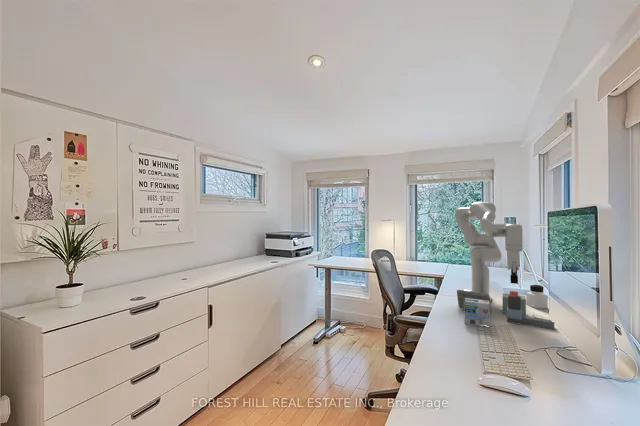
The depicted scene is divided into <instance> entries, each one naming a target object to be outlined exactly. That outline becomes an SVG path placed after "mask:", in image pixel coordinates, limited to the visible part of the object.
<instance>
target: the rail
mask: <svg viewBox="0 0 640 426" xmlns="http://www.w3.org/2000/svg"><path fill="white" fill-rule="evenodd" d="M551 320H552V319H547V318H542V317H541V318H540V317H533V316H527V315H526V316H522V320H519V319H512V318H507V317H506V322H507V323H512V324H517V325H524V326H531V327H535V328H542V329H548V330H554V331H555V321H554V322H552V321H551Z"/></svg>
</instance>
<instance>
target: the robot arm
mask: <svg viewBox="0 0 640 426" xmlns="http://www.w3.org/2000/svg"><path fill="white" fill-rule="evenodd" d="M496 207H497V206H496V205H495V204H494V203H493V202H491V201H489V202H488V201H478V202H477V201H476V202H473V203H471V205H469V206H467V207H465V206H464V207H460V208H457V209H456V210H455V213H454V217H455V219H454V220H455V222H456V224H457V226H458V227H459V229H460V231H462V232H461V233H462V234H463V237H464V239H465V241H466V243H467V245H468V247H470V248H472V249H470V251H469V256H470V257H469V258H470V263H471V289H469V290H468V289H464V290H465V291H471V292H478V293H484V294H488V295H489V296H490V269H489V267H488V265H487V264H488V263H489V264H490V263H492V264H493V263H494V264H495V263H498V262H500V261H501V260H502V252H501V249H500V248H499V246H498V244H497V242H496V240H495V238H505V242H504V243H505V246H504V247H505V248H504V249H505V251H507V270H508V271H509V270H510V284H516V285H518V284H519V275H518V271H519V270H520V263H521V261H520V259H521V252H524V250H523V248H524V247H523V246H524V245H523V243H524V242H523V226H522V225H521V224H519V223H517V224H516V223H493V222H494V221H495V219H496V216H497V215H496V211H497V209H496ZM471 221H480V222H479V226H480V229H481V231H482V232H479V231H478V230H477V227H476V226H475V225H474V224H473V222H471ZM492 301H493V297H492V296H490V302H492Z"/></svg>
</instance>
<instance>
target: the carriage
mask: <svg viewBox="0 0 640 426" xmlns="http://www.w3.org/2000/svg"><path fill="white" fill-rule="evenodd" d="M507 318H512V319H519V320H522V308H521V297H518V296H510V295H508V306H507V315H506V319H507Z"/></svg>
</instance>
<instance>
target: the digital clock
mask: <svg viewBox="0 0 640 426" xmlns="http://www.w3.org/2000/svg"><path fill="white" fill-rule="evenodd" d="M465 290H466V289H457V290H456V296H457V303H458V307H459V308H461V309H462V310H461V311H462V312H464V304H465V298H470V299H478V300H487V301H489V303H490V304H491V301H490V297H491V296H490V294H489V295H488V294H484V293H478V292H471V291H470V290H468V291H465ZM491 308H492V307H491V305H490V313H491V312H492V309H491Z"/></svg>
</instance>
